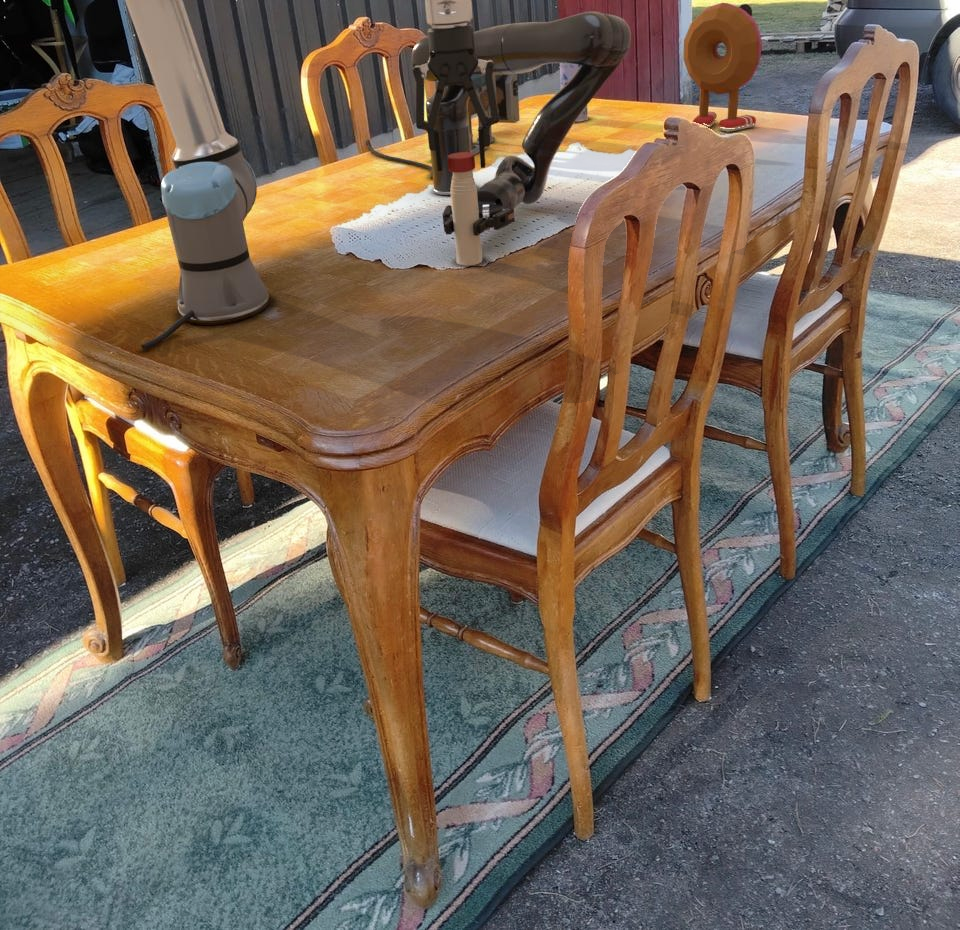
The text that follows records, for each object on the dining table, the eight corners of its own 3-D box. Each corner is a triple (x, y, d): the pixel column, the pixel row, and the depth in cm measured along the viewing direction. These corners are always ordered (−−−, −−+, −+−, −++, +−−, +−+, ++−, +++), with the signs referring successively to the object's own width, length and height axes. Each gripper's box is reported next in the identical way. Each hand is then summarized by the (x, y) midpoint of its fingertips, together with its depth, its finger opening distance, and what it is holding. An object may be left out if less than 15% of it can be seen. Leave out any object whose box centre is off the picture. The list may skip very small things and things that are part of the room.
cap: (469, 164, 172) (468, 150, 171) (479, 169, 168) (478, 155, 167) (444, 168, 171) (443, 154, 170) (453, 174, 167) (452, 160, 166)
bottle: (467, 255, 181) (459, 154, 172) (487, 259, 178) (480, 157, 169) (451, 263, 178) (441, 161, 169) (471, 267, 175) (462, 163, 166)
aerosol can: (559, 122, 275) (557, 47, 265) (562, 117, 282) (559, 42, 272) (587, 121, 274) (585, 45, 263) (589, 115, 280) (587, 41, 270)
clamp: (458, 163, 243) (450, 72, 232) (428, 161, 247) (419, 72, 236) (520, 131, 269) (515, 49, 258) (492, 130, 273) (487, 49, 262)
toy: (766, 126, 252) (776, -1, 237) (746, 134, 246) (755, 5, 231) (696, 119, 265) (700, -1, 250) (675, 127, 259) (678, 4, 244)
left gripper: (387, 32, 155) (403, 176, 167) (510, 22, 154) (518, 169, 166) (392, 26, 162) (407, 166, 173) (510, 17, 160) (517, 158, 172)
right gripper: (457, 182, 187) (422, 207, 173) (527, 183, 182) (497, 210, 168) (460, 220, 190) (426, 248, 177) (529, 223, 185) (500, 251, 172)
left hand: (461, 167), depth 169 cm, fingers open, 7 cm apart
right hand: (461, 229), depth 173 cm, fingers closed on bottle, 4 cm apart
